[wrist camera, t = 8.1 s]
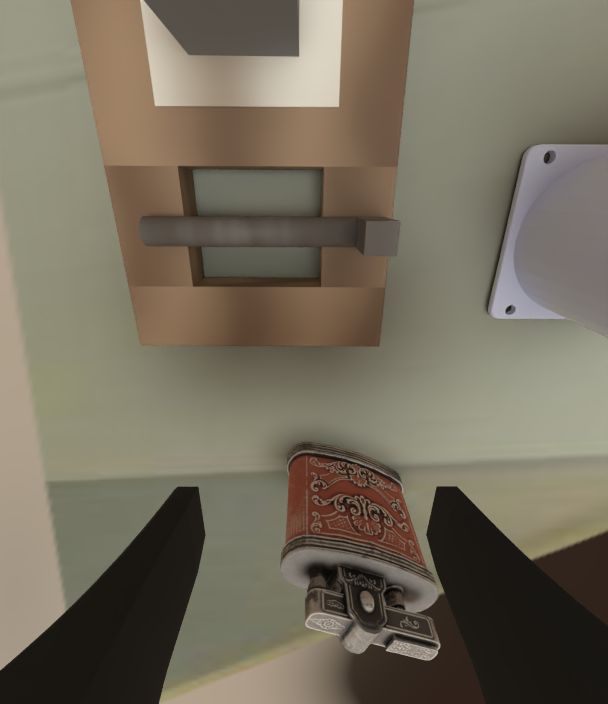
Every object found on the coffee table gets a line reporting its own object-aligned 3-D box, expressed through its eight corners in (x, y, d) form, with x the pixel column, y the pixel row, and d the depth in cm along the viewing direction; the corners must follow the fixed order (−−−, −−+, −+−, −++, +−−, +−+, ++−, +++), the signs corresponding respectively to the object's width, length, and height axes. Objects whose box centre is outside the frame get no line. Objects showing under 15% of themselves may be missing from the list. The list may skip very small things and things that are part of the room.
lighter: (279, 471, 24) (264, 645, 14) (298, 433, 22) (294, 598, 13) (386, 504, 25) (433, 684, 16) (409, 470, 23) (476, 645, 14)
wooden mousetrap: (416, -157, 12) (484, -373, 7) (372, 332, 19) (392, 374, 15) (67, -159, 12) (-78, -376, 7) (156, 331, 19) (110, 372, 15)
